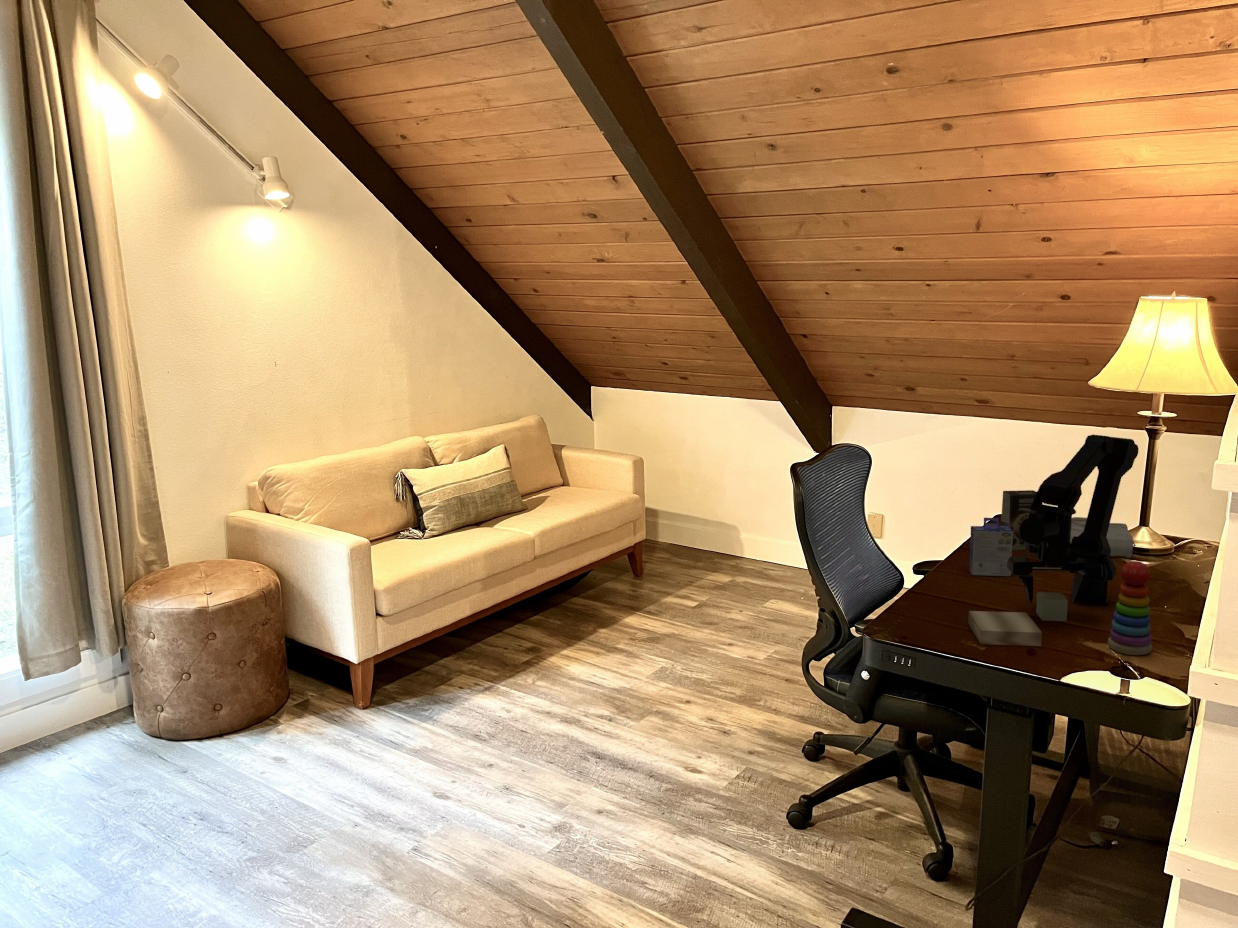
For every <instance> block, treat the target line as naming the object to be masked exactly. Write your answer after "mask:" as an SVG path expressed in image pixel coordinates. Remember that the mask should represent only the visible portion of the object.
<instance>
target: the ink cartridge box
mask: <svg viewBox="0 0 1238 928" xmlns="http://www.w3.org/2000/svg"><path fill="white" fill-rule="evenodd" d="M989 521H993V522H995V523H993V522H990V523H989ZM969 543H970V544H969V545H970V547H969V548H970V549H969V573H970V575H971V576H987V577H989V576H991V577H992V576H993V577H1011V576H1012V573H1011V571H1010V570H1009V569H1008V568H1007V561H1008V559H1009V558H1010V557H1011V556H1013V550H1012V544H1013V530H1012V529H1011V528H1010V527H1009V526H1001V525H1000V523H999V518H998V517H983V525H970V542H969Z"/></svg>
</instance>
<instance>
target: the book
mask: <svg viewBox="0 0 1238 928" xmlns="http://www.w3.org/2000/svg"><path fill="white" fill-rule="evenodd" d="M1086 520H1087V517H1082V516H1081V517H1080V516H1074V517H1073V516H1072V522H1071V539H1070V543H1071V542H1072V539H1073V537H1074V536H1077V537H1078V536H1079V535H1080V534H1081V533H1082V532H1083V531H1084V528H1085V524H1086ZM1106 538H1107V540H1108V543H1109V546H1110V548H1111V553H1110V558H1116V557H1118V558H1126V559H1131V558H1132V557H1133V549H1134V547H1135V546H1136V543H1135V542H1134V537H1133V535H1132V534H1131V533H1130V531H1129V528H1128V525H1127V524H1126V523H1121V522H1120V523H1119V522H1117V523H1116V522H1110V524H1109V528H1108V532H1107V537H1106ZM1133 544H1134V545H1133Z"/></svg>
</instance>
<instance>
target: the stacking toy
mask: <svg viewBox="0 0 1238 928" xmlns="http://www.w3.org/2000/svg"><path fill="white" fill-rule="evenodd" d="M1120 573H1121V574H1120V575H1121V578H1122V580H1123V581H1124V582H1123V583H1122V584H1121V585H1120V586H1119V589H1120V592H1121V593H1119V594H1118V597H1117V598H1118V601H1117V602H1116V604H1115V609H1116V610H1115V611H1114V612H1113V619H1112V620H1111V627H1112V628H1111V629H1110V633H1109V634H1110V635H1109V637H1108V640H1107V645H1108V646H1109V648H1110V649H1112V650H1113V651H1115V652H1117V653H1119V654H1123V655H1129V656H1142V655H1143V656H1144V655H1148V654H1150V653H1151V652H1152V651H1153V645H1152V641H1153V636H1152V634H1151V633H1150V632H1151V630H1152V627H1151V625H1150V623H1151V617H1150V612H1151V608H1150V606H1149V604H1150V602H1151V601H1150V600H1151V599H1150V597H1149V596H1148V594H1149V588H1148V586H1147V585H1145V584H1146V583H1148V581H1149V580H1150V577H1151V572H1150V569H1149V567H1148V566H1147V564H1145V563H1144V562H1142V561H1139V560H1138V561H1137V560H1136V561H1135V560H1131V561H1128V562H1126V563H1125V564H1124V565H1123V566H1122V568H1121V571H1120Z"/></svg>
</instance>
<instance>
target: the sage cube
mask: <svg viewBox="0 0 1238 928" xmlns="http://www.w3.org/2000/svg"><path fill="white" fill-rule="evenodd" d="M1068 601H1069V600H1068V598H1066V596H1065V595H1063V593H1062V592H1041V591H1040V592H1039V591H1037V594H1036V611H1035V612H1036V614H1037V615H1038V617H1039V618H1040V620H1041V621H1044V622H1045V621H1046V622H1067V618H1068V617H1067V615H1068Z"/></svg>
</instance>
